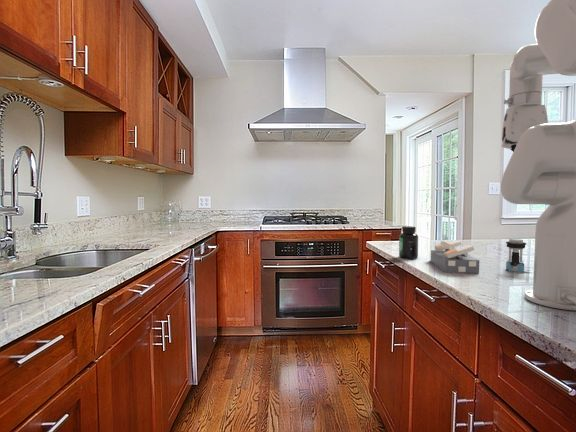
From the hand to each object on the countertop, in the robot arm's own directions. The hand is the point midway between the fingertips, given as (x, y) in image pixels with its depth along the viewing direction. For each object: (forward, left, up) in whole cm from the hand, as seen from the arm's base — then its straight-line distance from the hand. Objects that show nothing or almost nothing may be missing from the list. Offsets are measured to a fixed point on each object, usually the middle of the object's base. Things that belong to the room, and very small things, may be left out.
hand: (522, 168), depth 95 cm
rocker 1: (+20, +14, -26) cm, 35 cm away
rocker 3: (+8, +14, -26) cm, 30 cm away
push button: (+10, -4, -32) cm, 34 cm away
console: (+14, +14, -32) cm, 37 cm away
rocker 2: (+14, +14, -26) cm, 32 cm away
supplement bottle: (+28, +26, -32) cm, 50 cm away
